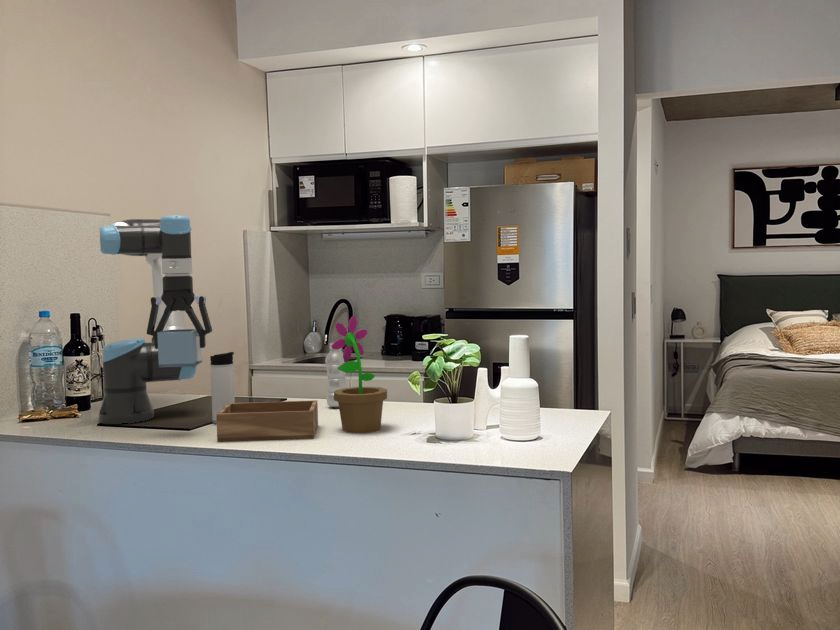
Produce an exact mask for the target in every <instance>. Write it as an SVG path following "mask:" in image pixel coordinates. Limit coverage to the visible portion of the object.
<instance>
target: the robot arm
mask: <svg viewBox="0 0 840 630" xmlns="http://www.w3.org/2000/svg"><path fill="white" fill-rule="evenodd" d="M191 231H192V227H191V220H190V218H189V217H188V216H187V215H164V216H161V217H160V219H158V218H157V219H155V218H154V219H153V218H152V219H150V218H149V219H148V218H146V219H145V218H140V219H138V218H131V219H124V220H120V221H116V222H113V223H111V224H109V225H102V226H101V227H99V245H100V249H99V250H100V252H101V254H104V255H112V256H113V255H114V256H115V255H124V256H129V257H130V256H131V257H145V261H146V263H147V264H148V265H149V266H150V267H151V276H152V277H151V278H152V291H153V297H151V298H150V305H151V308H150V313H149V317H148V323H147V328H146V335H148V336H151V341H150V342H146V340H145V339H144V338H143V337H135V338H129V339H121V340H118V341H114V342H110V343H107V344H106V345H104V346H103V348H102V356H101V357H102V360H101V363H102V370H103V371H102V372H103V373H102V374H103V375H102V376H103V398H102V401H101V405H100V407H99V411H98V422H99V423H100V424H103V425H104V424H105V425H123V424H122V423H128V424H136V423H140V421H142V422H145V420H146V421H149V419H150V420H151V418H152V419H154V418H155V410H154V406H153V405H152V402H151V399H150V397H149V395H148V391H147V383H152V382H153V383H155V382H169V381H182V380H189V379H192V378H194V377H195V375H196V372H197V366H198V365H196V366H194V367H159V360H158V336H157V333H158V332H161V331H164V330H176V329H187V327H186V316H185V315H186V314H187V316H188V318H189V319H190V321H191V323H192V325H193V326H194V329H196V330H197V332H198V334H199V336H196V347H197V361H201V360H202V361H203V349H205V348H206V336H207V334H210V333H212V332H213V328H212V324H211V321H210V317H209V313H208V310H207V306H206V300H207V298H206V296H205V295H202V296H201V295H195V294H194V282H193V279H194V278H193V276H192V275H191V274H193V261H192V260H193V259H192V240H191V239H192V238H191V237H192V236H191ZM194 301H195V302H196V304H197V305H198V308H199V312H200V317H201V319H202V320H201V321H202V323H203V325H202V323H201V321H200V320H199V319H198V316H197V315H196V313H195V311H194V308H193V307H192V304H193V303H194ZM185 313H186V314H185ZM153 417H154V418H153ZM135 422H136V423H135Z"/></svg>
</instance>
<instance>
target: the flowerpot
mask: <svg viewBox="0 0 840 630" xmlns="http://www.w3.org/2000/svg"><path fill="white" fill-rule="evenodd" d="M357 323H358V322H357V318H356V316H353V315H352V316H351V317H350V319H349V320H348V323H347V324H348V325H347V328H346V327H345V326H344V324H343V323H341V322H336V323H335V330H336V332H337V333H338V334H339V335H340V336H343V337H344V339H343V338H339V339H337V340H334V341H333V342H332V343H333V344H332V349H340V348H342V349H343V348H344V349H343V351H342V352H343V359H344V362H345V363H344V364H342V365H341V366H339V367H338V370H341V371H343V372H345V373H346V374H347V373H348V374H349V373H350V374H352V373H355V372H357V371H358V372H357V373H358V375H357V376H358V386H355V387H354V386H352V387H346V388H343V389H339V390H335V392H334V400H335V401H337V402H338V404H339V408H338V409H339V415H340V422H341V428H342V429H341V430H342V432H345V433H352V434H367V433H374V432H375V433H376V432H377V431H379V430H381V428H382V427H381V426H382V425H381V424H382V419H383V418H382V415H383V405H384V401H386V400H388V389H387V388H383V387H377V386H363V381H365V382H370V381H372V380H373V379H374V378H375V376H376V375H374V374H373V373H370V372H365V373H363V371H362V370H363V369H362V361H361V356H363V355H364V354H365V352H364V347H363V346H362V345H361V344H360V343H359V342H356V340H361V339H363V338H365V337H366V336H367V335H368V330H367V329H358V330H357ZM347 329H348V330H347ZM356 330H357V331H356ZM354 332H355V333H354ZM345 345H346V346H345ZM353 351H354V353H355V356H356V357H355V358H356V361H355V360H350V359H351V358H352V352H353Z"/></svg>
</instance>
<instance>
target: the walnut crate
mask: <svg viewBox="0 0 840 630" xmlns="http://www.w3.org/2000/svg"><path fill="white" fill-rule="evenodd" d="M318 408H319V407H318V400H317V399H316V400H294V401H293V400H286V401H284V400H283V401H282V400H281V401H259V402H258V401H256V402H255V401H254V402H253V401H252V402H235V403H228V404H227V405H226V406H225V407H224V408H223V409H222V410H220V411H219V412H218V413H217V414H216V419H217V424H216V438H217V442H218V443H222V442H223V443H226V442H227V443H229V442H253V441H257V442H259V441H282V440H286V441H287V440H288V439H289V440H312V439H315V435H316V433H317V429H318V428H319V412H318V411H319V410H318ZM289 440H288V441H289Z"/></svg>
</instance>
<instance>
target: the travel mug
mask: <svg viewBox="0 0 840 630" xmlns="http://www.w3.org/2000/svg"><path fill="white" fill-rule="evenodd" d="M234 354H235V352H234V351H230V352H225V353H219V354H214V355H211V356H209V357H210V365H209V366H210V388H211V391H210V392H211V414H212V415H211V416H212V424H214V425H217V419H216V414H217V413H218V412H219V411H220V410H222V409H223V408H224V407H225V406H226V405H227V404H228V403H236V402H235V401H236V399H235V398H236V397H235V379H234V378H235V375H234V371H235V370H234V358H233V357H234V356H233V355H234Z"/></svg>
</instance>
